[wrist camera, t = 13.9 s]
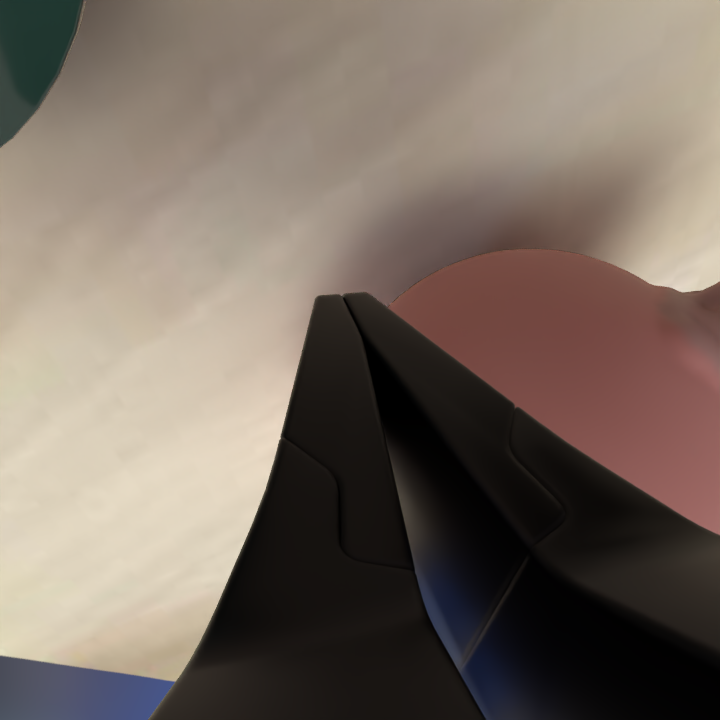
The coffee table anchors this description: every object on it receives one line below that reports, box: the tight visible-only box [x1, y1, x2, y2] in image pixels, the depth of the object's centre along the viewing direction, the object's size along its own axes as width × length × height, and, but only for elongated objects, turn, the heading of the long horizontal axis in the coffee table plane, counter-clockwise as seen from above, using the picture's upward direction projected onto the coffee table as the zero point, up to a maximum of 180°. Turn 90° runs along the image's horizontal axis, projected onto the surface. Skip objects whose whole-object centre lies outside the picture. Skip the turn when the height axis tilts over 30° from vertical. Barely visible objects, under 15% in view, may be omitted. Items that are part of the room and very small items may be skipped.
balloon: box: [387, 249, 720, 535], centre depth 22 cm, size 15×20×15 cm
